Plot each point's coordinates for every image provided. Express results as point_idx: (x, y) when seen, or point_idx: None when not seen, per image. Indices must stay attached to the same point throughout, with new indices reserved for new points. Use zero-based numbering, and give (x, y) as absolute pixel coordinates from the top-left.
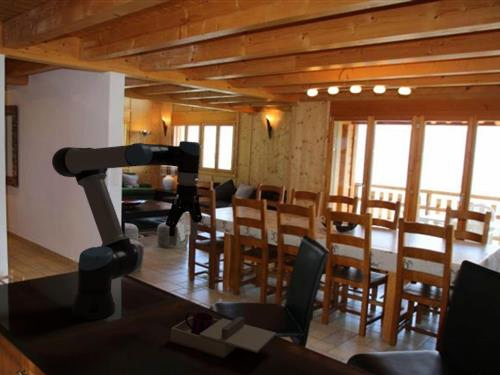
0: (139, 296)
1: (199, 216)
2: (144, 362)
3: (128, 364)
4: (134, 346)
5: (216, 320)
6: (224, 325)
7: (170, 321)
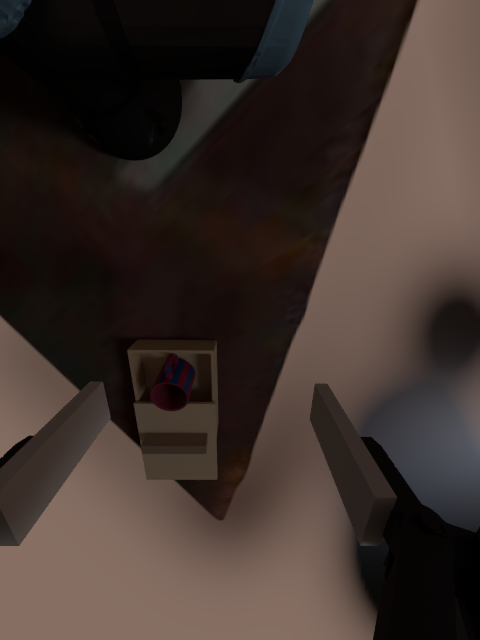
0: (290, 122)
1: (470, 631)
2: (60, 346)
3: (38, 332)
4: (82, 303)
5: (212, 391)
6: (189, 418)
7: (204, 292)
